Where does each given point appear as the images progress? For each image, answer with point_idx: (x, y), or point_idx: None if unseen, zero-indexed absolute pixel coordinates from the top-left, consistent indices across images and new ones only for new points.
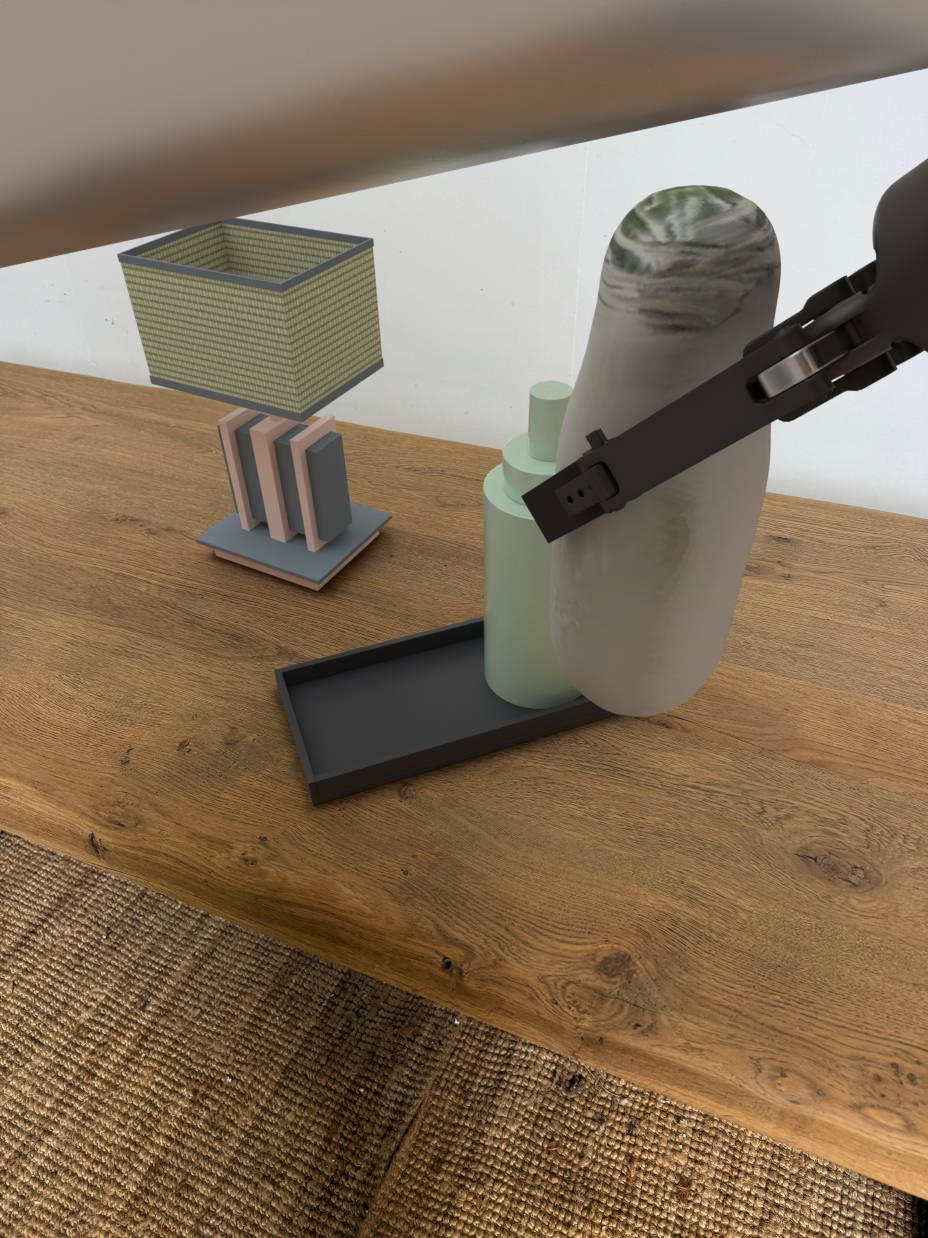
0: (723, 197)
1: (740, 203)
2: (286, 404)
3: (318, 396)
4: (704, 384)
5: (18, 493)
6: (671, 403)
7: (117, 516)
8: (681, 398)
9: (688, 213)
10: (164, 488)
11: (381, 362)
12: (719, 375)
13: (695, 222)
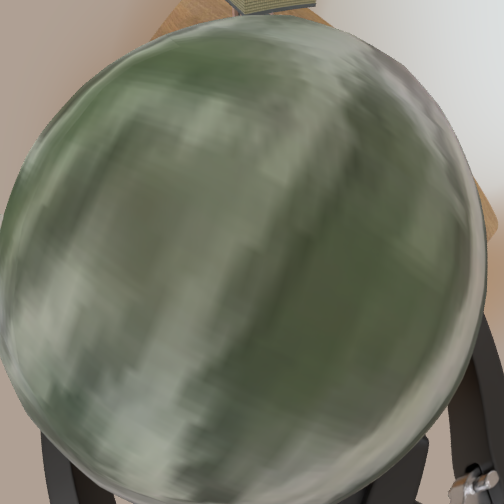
0: (244, 411)
1: (275, 493)
2: (240, 8)
3: (260, 9)
4: (47, 481)
5: (179, 5)
6: (42, 445)
7: (201, 22)
8: (43, 456)
9: (14, 362)
10: (227, 15)
11: (314, 4)
12: (50, 498)
13: (25, 409)
